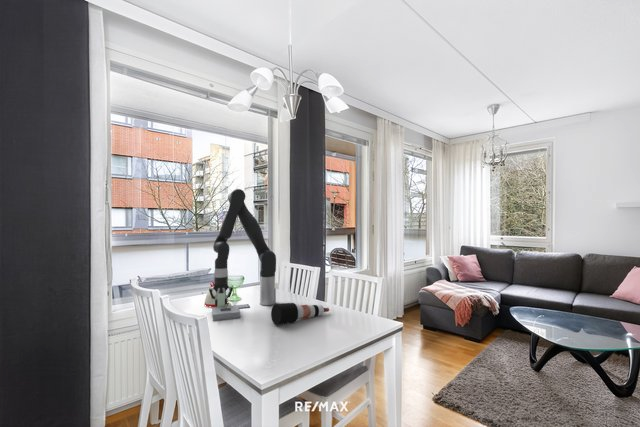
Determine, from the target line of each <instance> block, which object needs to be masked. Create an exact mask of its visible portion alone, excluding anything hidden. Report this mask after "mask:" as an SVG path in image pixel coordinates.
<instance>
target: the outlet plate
mask: <svg viewBox="0 0 640 427" xmlns="http://www.w3.org/2000/svg"><path fill="white" fill-rule="evenodd" d="M238 305H239V304H236V305H235V304H233V305H225V306H222V307H211V316H212V317H211V318H212V321H219V320H222V321H223V320H230V319H238V318H241V309H239V308H238Z"/></svg>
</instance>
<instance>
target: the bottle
mask: <svg viewBox="0 0 640 427" xmlns="http://www.w3.org/2000/svg"><path fill="white" fill-rule="evenodd" d="M327 312H328V313H329V312H330V308H329V307H324V305H322V304H299V305H297V303H295V302H287V303H276V304H273V305H272V307H271V311H270V317H271V321H272V323H273V324H274V325H275V326H278V325H286V324H287V325H288V324H295V323H296V322H297V321H298V320H304V319H309V318H317V317H322V316H324V313H327Z"/></svg>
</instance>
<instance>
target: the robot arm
mask: <svg viewBox="0 0 640 427" xmlns="http://www.w3.org/2000/svg"><path fill="white" fill-rule="evenodd" d="M227 200H228V202H229V207H228V210H227V211H226V215H225V217H224V219H223V221H222V223H221V227H220V229H219V233H218V235H217V237H216V239H215V240H214V243H213V247H212V248H213V251H214V253H216V254H217V257H216V258H215V259H214V275H213V276H214V277H213V278H214V280H213V282H214V287H213V288H211V287H209V289H208V291H209V292H210V295H211V297H212V299H215V305H216V306H217V303H218V300H217V298H218V294H219V293H225V306H227V305H228V304H227V298H228V299H229V298H231V295H232V293H233V290H234V288H233V286H230V285H229V269H228V259H229V256H230V244H229V243H228V239H230V238H232V235H233V231H234V228H235V225H236V222H237V219H239V221H240V224H241V225H242V228H243V229H244V232H245V234H246V235H247V237H248V239H249V241H250V243H252V245H253V247H254V249H255V251H256V253H257V256H258V258H259V261H260V264H261V265H260V272H259V304H260V305H261V306H271V305H272V306H273V305H274V304H277V303H276V302H277V296H276V294H277V290H276V271H277V256H276V254H275V252H273V251H272V250H271V248H270V247H269V246H268V245H267V243H266V241H265V238H264V234H263V231H262V228H261V226H260V224H259V222H258V221H257V218H255V216H254V215H253V214H252V213H251V212H250V211H249V209H248V207H247V206H246V203H245V200H246V193H245V192H244V190H243V189H241V188H235V189H233V190H230V192H228V195H227ZM237 217H238V218H237ZM213 289H214V290H215V291H216V295H215V296H213V293H212V292H213ZM228 290H229V291H228ZM227 291H228V293H227ZM217 293H218V294H217ZM226 294H227V295H226ZM226 304H227V305H226Z"/></svg>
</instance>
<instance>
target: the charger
mask: <svg viewBox="0 0 640 427" xmlns="http://www.w3.org/2000/svg"><path fill="white" fill-rule="evenodd" d="M217 294H218V293H217ZM217 300H218V303H217V307H222V306H226V305H225V293H219V294H218V298H217Z"/></svg>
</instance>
